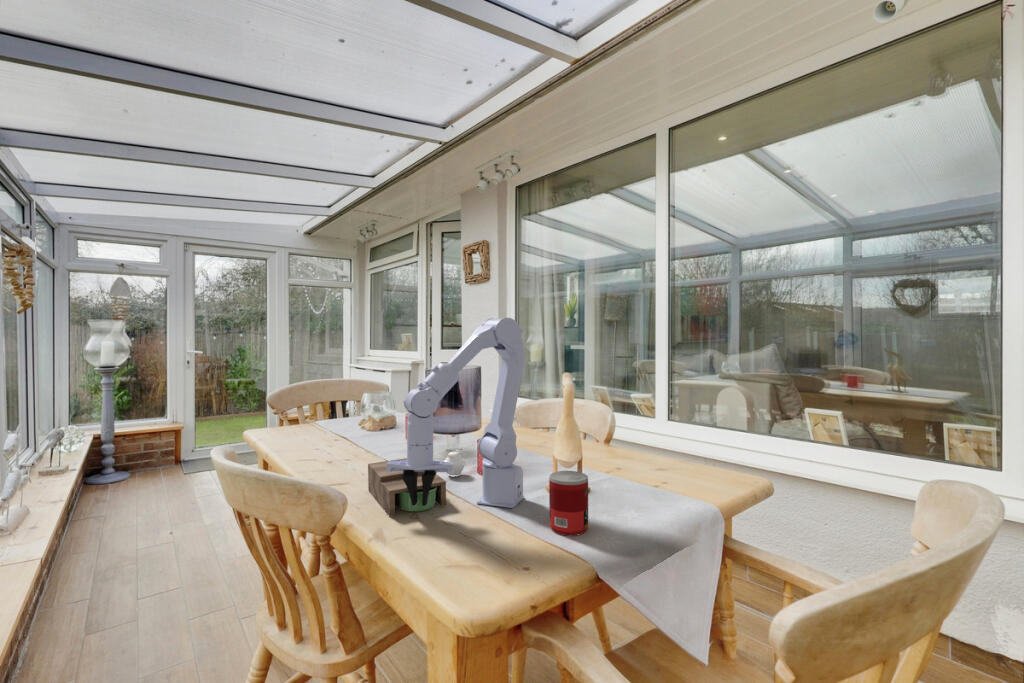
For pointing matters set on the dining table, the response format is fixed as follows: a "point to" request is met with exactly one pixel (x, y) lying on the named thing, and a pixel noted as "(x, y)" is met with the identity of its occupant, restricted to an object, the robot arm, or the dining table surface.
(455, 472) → the white sugar bowl
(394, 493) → the walnut shelf
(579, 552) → the dining table surface
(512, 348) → the robot arm
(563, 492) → the canned food
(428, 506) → the ramekin
